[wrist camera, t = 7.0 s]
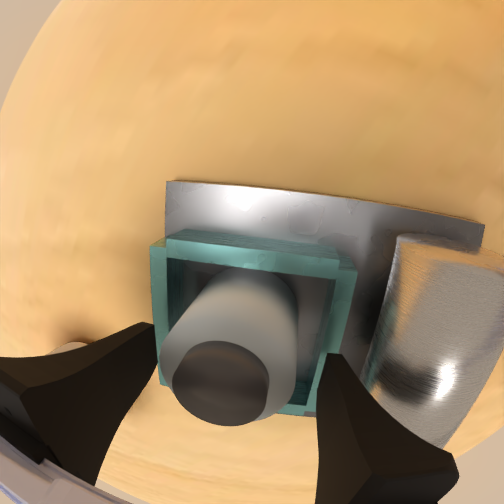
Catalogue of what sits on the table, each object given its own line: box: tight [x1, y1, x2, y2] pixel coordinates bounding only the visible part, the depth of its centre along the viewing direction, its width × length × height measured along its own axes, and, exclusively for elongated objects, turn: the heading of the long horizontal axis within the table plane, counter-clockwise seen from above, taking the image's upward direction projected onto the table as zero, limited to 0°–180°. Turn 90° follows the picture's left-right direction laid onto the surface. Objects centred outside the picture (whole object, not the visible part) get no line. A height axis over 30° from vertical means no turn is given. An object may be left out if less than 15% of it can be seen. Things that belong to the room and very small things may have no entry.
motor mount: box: [150, 180, 504, 449], centre depth 12 cm, size 16×13×7 cm
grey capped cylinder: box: [159, 267, 298, 426], centre depth 12 cm, size 5×5×6 cm
